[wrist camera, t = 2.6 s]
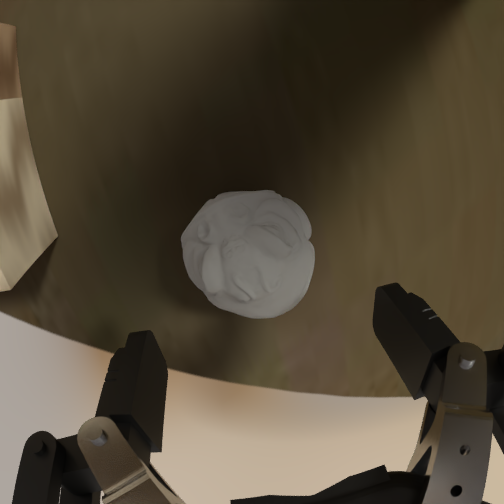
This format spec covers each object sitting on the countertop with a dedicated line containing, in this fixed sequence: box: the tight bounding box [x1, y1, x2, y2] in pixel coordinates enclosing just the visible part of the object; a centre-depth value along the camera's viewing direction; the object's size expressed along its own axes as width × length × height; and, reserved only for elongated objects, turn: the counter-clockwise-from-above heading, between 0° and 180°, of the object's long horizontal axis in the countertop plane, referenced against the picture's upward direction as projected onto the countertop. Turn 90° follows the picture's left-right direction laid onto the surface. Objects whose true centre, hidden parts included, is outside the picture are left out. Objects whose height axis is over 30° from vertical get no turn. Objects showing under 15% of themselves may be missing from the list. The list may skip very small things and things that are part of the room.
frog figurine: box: [181, 190, 315, 319], centre depth 14 cm, size 6×7×7 cm
